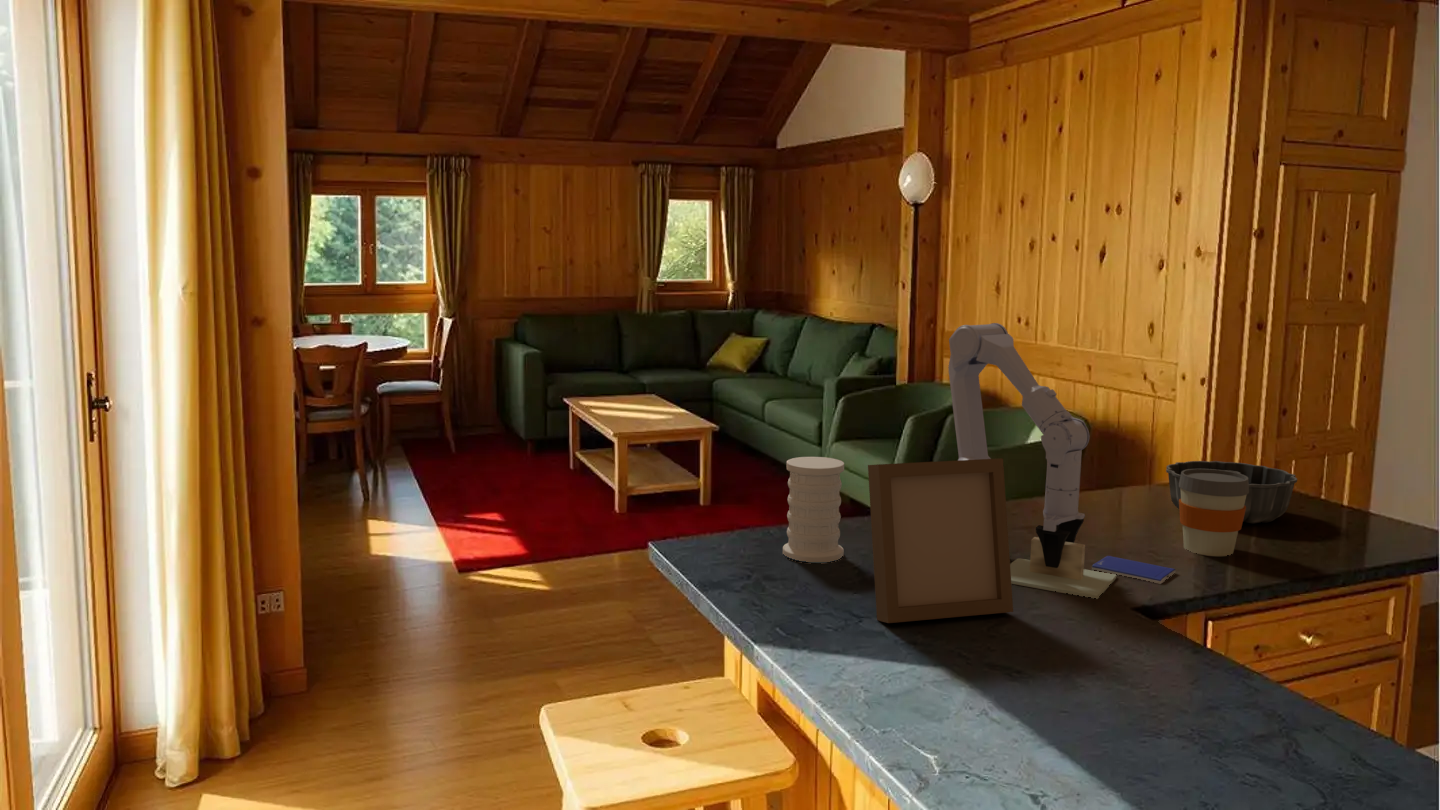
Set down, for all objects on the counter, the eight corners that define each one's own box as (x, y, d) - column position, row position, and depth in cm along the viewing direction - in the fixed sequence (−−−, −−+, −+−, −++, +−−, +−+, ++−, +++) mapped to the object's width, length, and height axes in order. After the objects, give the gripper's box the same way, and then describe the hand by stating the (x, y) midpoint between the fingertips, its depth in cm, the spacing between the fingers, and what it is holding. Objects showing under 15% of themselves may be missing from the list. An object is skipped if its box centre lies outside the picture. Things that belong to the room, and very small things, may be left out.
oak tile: (1029, 571, 199) (1031, 539, 198) (1032, 568, 200) (1034, 536, 199) (1080, 580, 194) (1082, 547, 193) (1083, 577, 196) (1085, 544, 195)
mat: (993, 580, 195) (993, 577, 195) (1017, 561, 207) (1017, 558, 207) (1097, 599, 186) (1097, 595, 186) (1116, 577, 197) (1116, 574, 197)
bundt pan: (1139, 503, 254) (1142, 460, 252) (1241, 499, 258) (1245, 457, 257) (1209, 533, 228) (1213, 486, 227) (1321, 528, 233) (1325, 482, 231)
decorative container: (822, 567, 202) (825, 471, 199) (770, 555, 209) (772, 463, 206) (854, 553, 211) (857, 461, 208) (803, 542, 218) (806, 453, 215)
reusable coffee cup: (1229, 542, 222) (1236, 469, 219) (1253, 560, 209) (1260, 483, 207) (1165, 539, 223) (1171, 467, 220) (1185, 557, 210) (1191, 481, 208)
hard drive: (1092, 564, 202) (1160, 578, 194) (1108, 554, 208) (1175, 568, 200) (1091, 572, 202) (1160, 587, 194) (1107, 562, 208) (1175, 576, 201)
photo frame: (1012, 617, 176) (1021, 465, 172) (887, 629, 171) (893, 471, 167) (968, 588, 190) (975, 447, 187) (851, 598, 185) (856, 453, 181)
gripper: (1074, 498, 186) (1069, 575, 189) (1095, 482, 199) (1090, 555, 201) (1033, 493, 190) (1029, 568, 192) (1056, 477, 202) (1052, 549, 204)
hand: (1057, 561), depth 197 cm, fingers open, 7 cm apart
